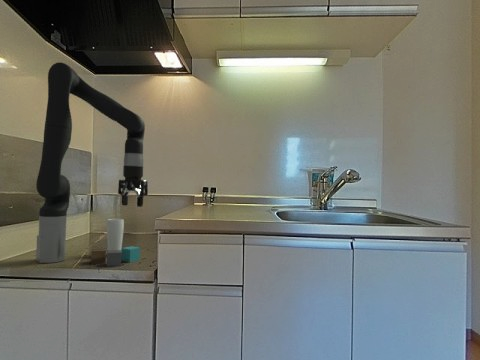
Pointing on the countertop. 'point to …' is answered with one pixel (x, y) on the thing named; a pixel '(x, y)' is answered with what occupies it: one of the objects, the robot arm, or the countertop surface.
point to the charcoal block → (113, 258)
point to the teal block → (130, 254)
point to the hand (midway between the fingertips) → (132, 206)
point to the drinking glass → (115, 233)
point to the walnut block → (98, 256)
